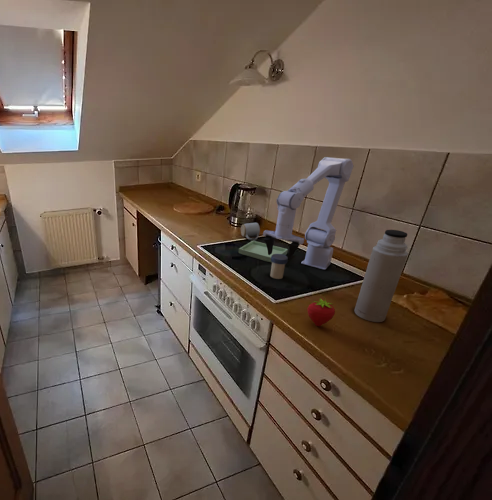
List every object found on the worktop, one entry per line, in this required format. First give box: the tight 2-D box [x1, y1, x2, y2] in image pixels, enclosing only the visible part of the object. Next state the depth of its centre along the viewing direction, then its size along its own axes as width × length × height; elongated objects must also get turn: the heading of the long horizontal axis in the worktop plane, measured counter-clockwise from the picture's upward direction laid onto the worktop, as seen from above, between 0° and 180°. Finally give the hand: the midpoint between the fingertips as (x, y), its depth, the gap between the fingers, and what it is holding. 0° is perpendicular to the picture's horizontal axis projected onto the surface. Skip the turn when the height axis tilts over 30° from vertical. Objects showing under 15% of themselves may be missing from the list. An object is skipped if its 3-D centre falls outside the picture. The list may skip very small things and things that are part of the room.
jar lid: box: [271, 254, 289, 265], centre depth 117 cm, size 6×6×2 cm
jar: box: [269, 262, 286, 280], centre depth 118 cm, size 5×5×8 cm
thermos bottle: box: [354, 229, 409, 323], centre depth 89 cm, size 8×8×28 cm
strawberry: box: [306, 295, 336, 327], centre depth 88 cm, size 6×8×10 cm
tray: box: [238, 240, 289, 264], centre depth 140 cm, size 17×14×2 cm
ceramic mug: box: [240, 222, 261, 242], centre depth 158 cm, size 11×8×8 cm
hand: (279, 256), depth 116 cm, fingers open, 7 cm apart
